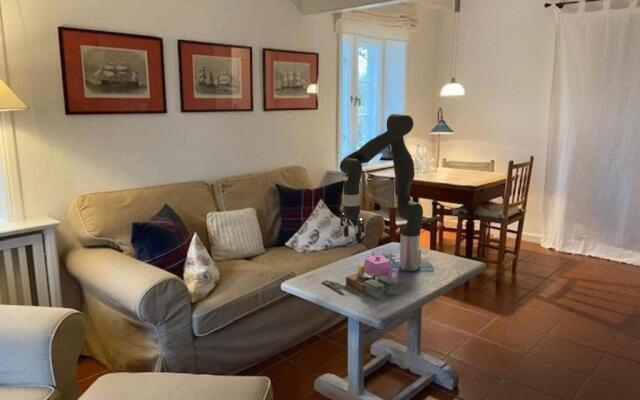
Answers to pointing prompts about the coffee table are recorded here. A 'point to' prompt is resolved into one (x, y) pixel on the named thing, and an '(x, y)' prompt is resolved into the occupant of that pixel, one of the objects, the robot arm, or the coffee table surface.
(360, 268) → the yellow-capped grey beam
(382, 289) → the block set
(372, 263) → the teapot
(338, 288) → the driftwood
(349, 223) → the robot arm
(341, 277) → the coffee table surface
